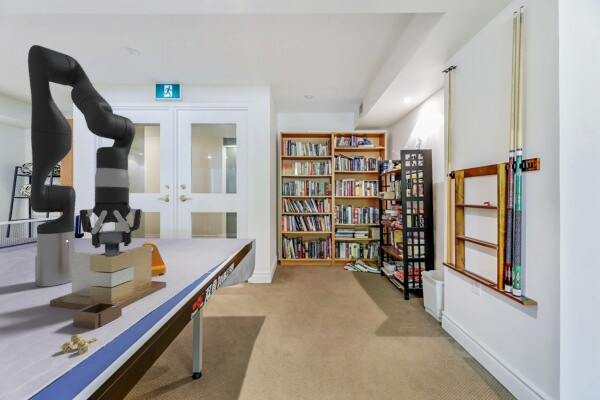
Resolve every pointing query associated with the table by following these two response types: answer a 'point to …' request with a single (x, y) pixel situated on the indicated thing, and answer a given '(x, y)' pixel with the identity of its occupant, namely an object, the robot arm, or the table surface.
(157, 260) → the bracket
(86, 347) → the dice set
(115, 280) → the hinge leaf
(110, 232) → the hinge pin
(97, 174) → the robot arm
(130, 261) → the hinge base
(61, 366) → the table surface
